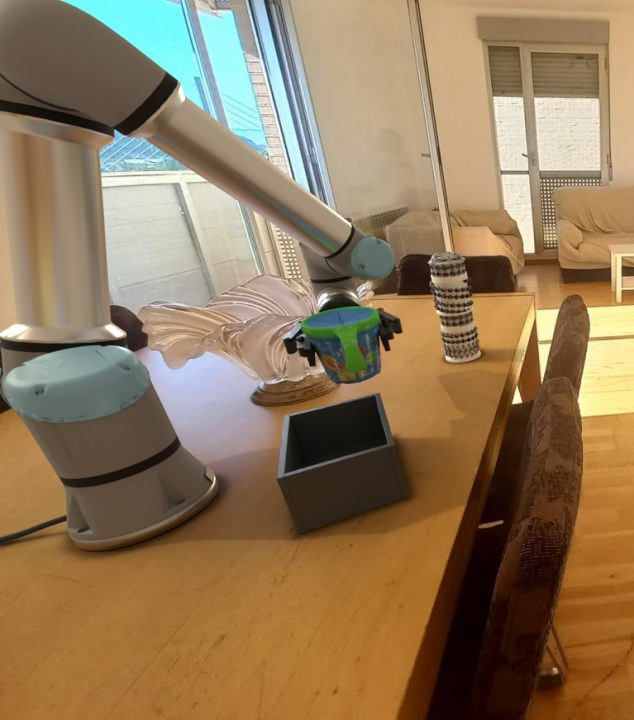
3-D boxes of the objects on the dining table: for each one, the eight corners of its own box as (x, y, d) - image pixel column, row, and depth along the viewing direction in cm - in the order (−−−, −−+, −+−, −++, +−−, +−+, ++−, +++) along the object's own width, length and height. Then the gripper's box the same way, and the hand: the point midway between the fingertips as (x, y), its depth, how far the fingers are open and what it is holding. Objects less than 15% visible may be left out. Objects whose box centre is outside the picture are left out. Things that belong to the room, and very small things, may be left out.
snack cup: (396, 386, 72) (381, 323, 68) (317, 404, 68) (295, 338, 64) (388, 353, 85) (375, 298, 81) (321, 366, 81) (303, 309, 76)
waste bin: (298, 535, 62) (276, 479, 58) (301, 463, 77) (283, 415, 73) (408, 497, 68) (394, 444, 65) (391, 437, 83) (379, 392, 79)
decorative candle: (466, 346, 122) (449, 248, 112) (490, 353, 117) (475, 251, 107) (435, 358, 115) (415, 255, 105) (460, 366, 111) (441, 259, 101)
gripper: (408, 320, 95) (431, 356, 77) (277, 344, 85) (268, 391, 67) (400, 284, 92) (422, 312, 74) (263, 304, 82) (250, 342, 64)
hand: (349, 350), depth 71 cm, fingers closed on snack cup, 9 cm apart
